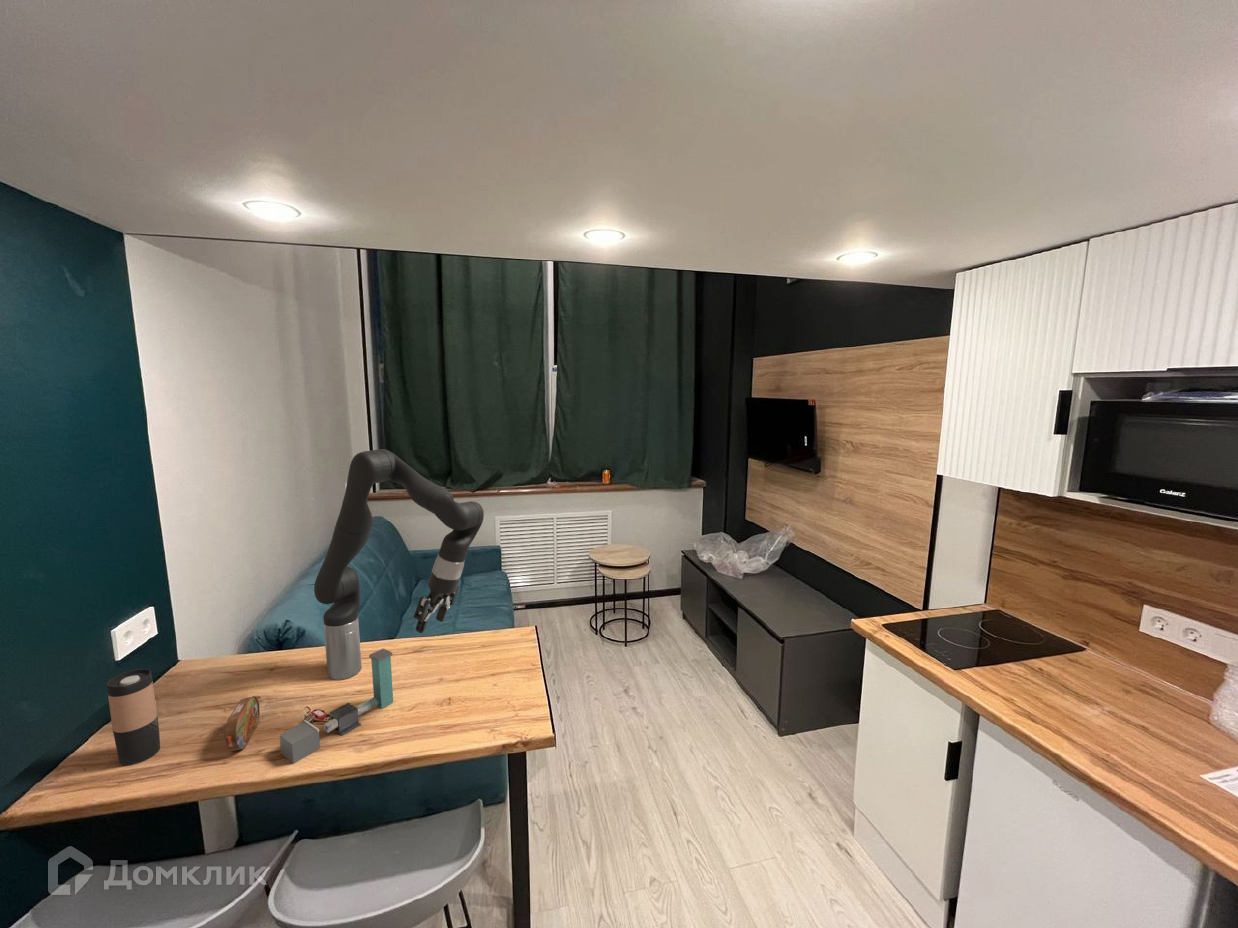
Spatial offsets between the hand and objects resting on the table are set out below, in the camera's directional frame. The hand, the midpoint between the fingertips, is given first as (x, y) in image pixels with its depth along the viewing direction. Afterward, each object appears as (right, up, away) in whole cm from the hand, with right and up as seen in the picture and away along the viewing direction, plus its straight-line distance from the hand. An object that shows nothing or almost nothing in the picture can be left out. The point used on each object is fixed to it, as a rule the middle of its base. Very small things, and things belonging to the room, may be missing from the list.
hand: (429, 625), depth 133 cm
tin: (-43, -26, -9) cm, 51 cm away
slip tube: (-18, -24, -1) cm, 30 cm away
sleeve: (-20, -25, -5) cm, 32 cm away
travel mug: (-64, -26, -15) cm, 71 cm away
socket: (-26, -26, -14) cm, 39 cm away
